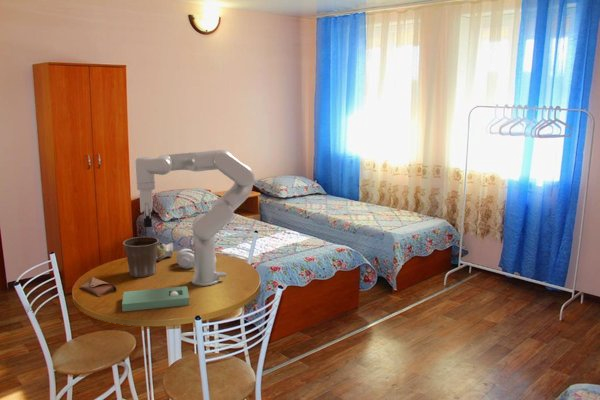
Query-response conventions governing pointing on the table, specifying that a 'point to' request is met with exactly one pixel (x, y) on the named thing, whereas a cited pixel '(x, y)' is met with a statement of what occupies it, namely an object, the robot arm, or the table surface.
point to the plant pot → (141, 255)
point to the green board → (154, 298)
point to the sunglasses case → (98, 287)
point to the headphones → (186, 258)
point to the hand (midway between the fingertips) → (148, 226)
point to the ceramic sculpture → (164, 251)
